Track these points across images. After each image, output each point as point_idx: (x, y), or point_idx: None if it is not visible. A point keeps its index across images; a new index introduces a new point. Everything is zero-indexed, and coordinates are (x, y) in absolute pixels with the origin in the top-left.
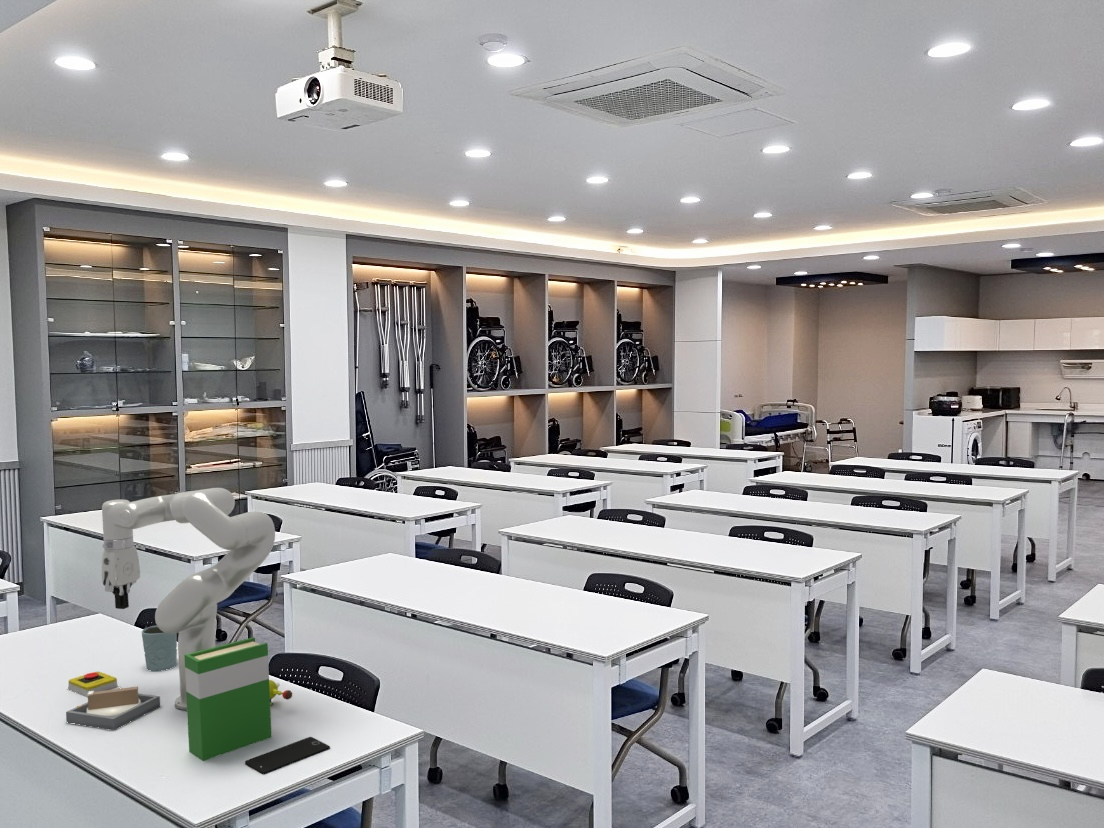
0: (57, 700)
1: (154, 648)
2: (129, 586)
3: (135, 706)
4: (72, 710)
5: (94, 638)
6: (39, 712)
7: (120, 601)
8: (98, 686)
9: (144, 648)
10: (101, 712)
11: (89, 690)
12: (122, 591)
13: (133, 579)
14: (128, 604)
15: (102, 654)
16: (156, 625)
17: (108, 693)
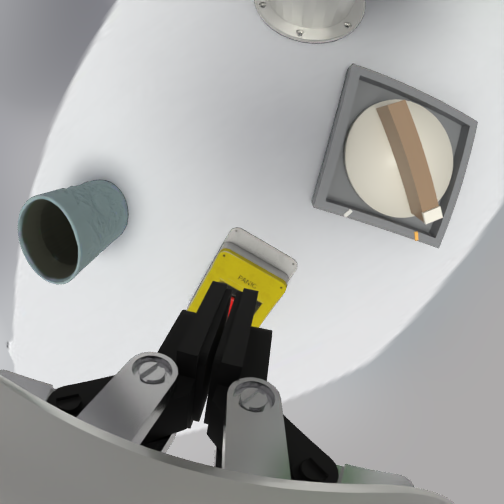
0: (307, 324)
1: (98, 221)
2: (109, 398)
3: (418, 97)
4: (433, 238)
5: (53, 379)
6: (368, 322)
7: (265, 351)
8: (266, 270)
9: (97, 253)
10: (440, 168)
11: (284, 280)
12: (242, 410)
13: (32, 430)
14: (211, 289)
15: (87, 350)
16: (31, 265)
17: (428, 168)
